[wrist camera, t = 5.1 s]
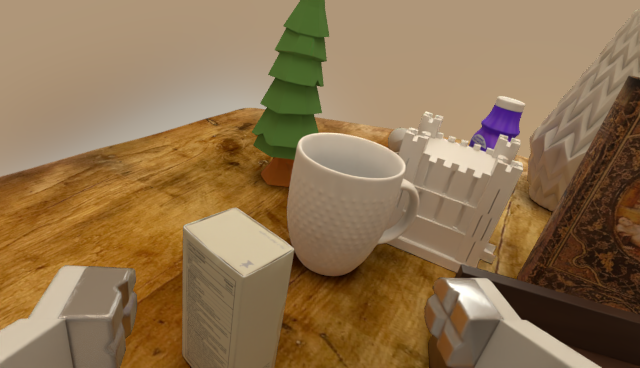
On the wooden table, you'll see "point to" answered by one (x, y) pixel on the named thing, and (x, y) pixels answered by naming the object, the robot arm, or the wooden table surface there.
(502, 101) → the bottle
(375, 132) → the wooden table surface
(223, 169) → the wooden table surface
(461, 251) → the castle model
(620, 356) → the shelf
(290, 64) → the decorative tree
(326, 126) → the wooden table surface
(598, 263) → the book
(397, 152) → the figurine
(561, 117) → the vase
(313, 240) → the mug
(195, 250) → the cosmetic box
